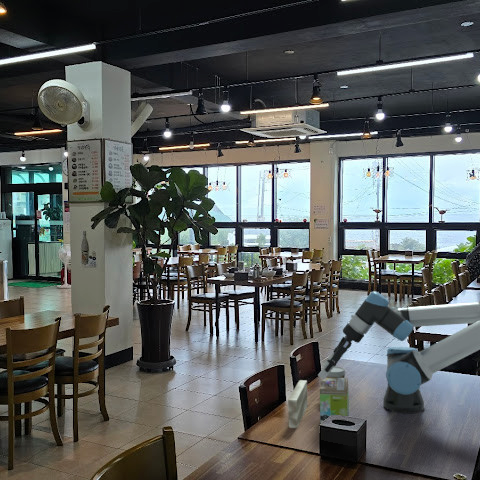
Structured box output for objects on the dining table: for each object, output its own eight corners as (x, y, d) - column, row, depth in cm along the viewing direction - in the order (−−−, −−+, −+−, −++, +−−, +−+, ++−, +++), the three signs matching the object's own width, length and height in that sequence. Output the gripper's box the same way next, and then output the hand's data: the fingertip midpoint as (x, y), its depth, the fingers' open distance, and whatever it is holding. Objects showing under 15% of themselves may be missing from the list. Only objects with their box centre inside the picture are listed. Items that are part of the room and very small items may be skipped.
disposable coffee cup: (320, 400, 223) (319, 371, 223) (325, 393, 232) (325, 365, 232) (343, 403, 220) (343, 373, 219) (348, 395, 228) (347, 367, 228)
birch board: (307, 405, 218) (306, 380, 217) (297, 428, 195) (296, 400, 194) (300, 405, 219) (299, 380, 218) (288, 427, 196) (288, 399, 195)
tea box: (349, 431, 190) (347, 389, 190) (320, 430, 192) (318, 388, 192) (349, 416, 205) (348, 376, 204) (322, 415, 207) (320, 376, 206)
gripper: (350, 316, 217) (319, 357, 221) (345, 329, 193) (310, 375, 197) (366, 328, 215) (334, 369, 219) (363, 342, 191) (327, 388, 195)
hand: (323, 372), depth 208 cm, fingers open, 13 cm apart
